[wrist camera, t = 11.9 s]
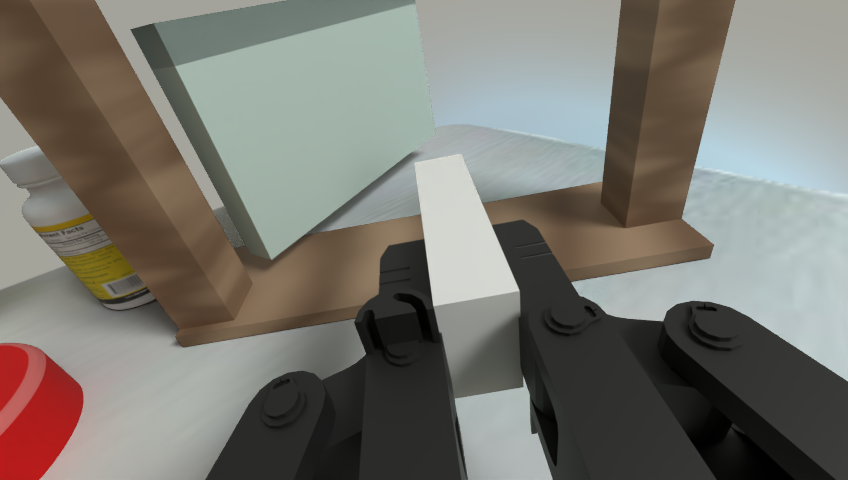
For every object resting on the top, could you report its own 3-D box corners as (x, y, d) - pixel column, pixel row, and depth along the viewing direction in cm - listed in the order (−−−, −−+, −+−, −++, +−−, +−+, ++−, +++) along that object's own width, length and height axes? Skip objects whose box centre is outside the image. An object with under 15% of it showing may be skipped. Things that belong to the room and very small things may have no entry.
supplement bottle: (156, 257, 29) (67, 131, 23) (208, 262, 27) (124, 126, 21) (85, 308, 25) (-43, 170, 19) (141, 318, 23) (15, 167, 17)
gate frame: (183, 347, 20) (-131, -49, 11) (236, 257, 26) (73, -33, 17) (709, 257, 19) (879, -277, 9) (627, 187, 25) (678, -165, 16)
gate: (271, 259, 22) (153, 23, 15) (250, 253, 23) (130, 29, 16) (435, 133, 35) (411, -22, 28) (417, 132, 36) (390, -17, 29)
